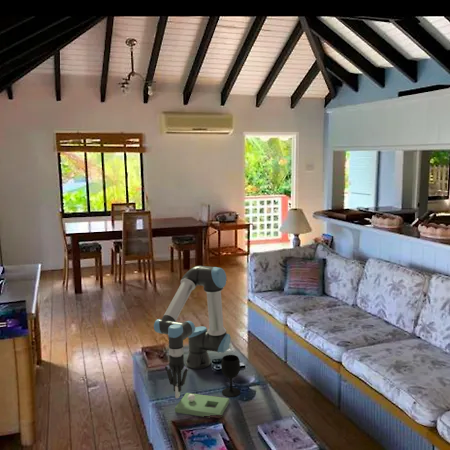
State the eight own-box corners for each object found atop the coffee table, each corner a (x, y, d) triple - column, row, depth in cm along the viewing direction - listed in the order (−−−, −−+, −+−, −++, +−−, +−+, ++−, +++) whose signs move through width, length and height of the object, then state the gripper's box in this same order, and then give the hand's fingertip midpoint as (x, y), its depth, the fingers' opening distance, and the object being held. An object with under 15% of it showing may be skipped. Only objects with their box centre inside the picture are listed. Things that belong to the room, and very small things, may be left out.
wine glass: (224, 398, 255) (223, 363, 252) (219, 389, 265) (218, 355, 262) (242, 395, 258) (242, 360, 255) (237, 386, 268) (236, 353, 265)
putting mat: (186, 397, 257) (186, 392, 257) (228, 402, 250) (228, 398, 250) (175, 412, 242) (174, 407, 242) (219, 418, 235) (219, 414, 235)
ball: (189, 399, 250) (189, 391, 250) (196, 400, 249) (196, 392, 248) (186, 402, 246) (186, 395, 246) (193, 403, 245) (193, 396, 245)
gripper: (161, 356, 245) (163, 398, 248) (185, 358, 241) (186, 402, 244) (167, 350, 252) (169, 392, 255) (190, 352, 248) (191, 395, 251)
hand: (177, 397), depth 250 cm, fingers closed
